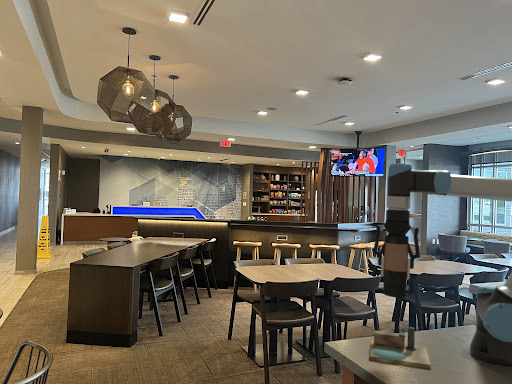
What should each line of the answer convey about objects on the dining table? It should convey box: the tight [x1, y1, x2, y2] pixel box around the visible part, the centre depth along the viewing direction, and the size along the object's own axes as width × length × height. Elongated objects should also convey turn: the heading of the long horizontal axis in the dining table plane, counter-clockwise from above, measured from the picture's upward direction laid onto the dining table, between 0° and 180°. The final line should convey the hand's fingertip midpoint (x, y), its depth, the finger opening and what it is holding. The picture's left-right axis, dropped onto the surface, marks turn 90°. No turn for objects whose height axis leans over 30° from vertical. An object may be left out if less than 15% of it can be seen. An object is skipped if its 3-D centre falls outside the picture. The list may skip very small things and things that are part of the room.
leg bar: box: [373, 330, 406, 348], centre depth 137 cm, size 10×3×4 cm, turn 69°
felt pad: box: [372, 347, 407, 360], centre depth 130 cm, size 11×11×1 cm
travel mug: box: [382, 234, 410, 299], centre depth 134 cm, size 8×8×20 cm
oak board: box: [369, 326, 432, 370], centre depth 132 cm, size 18×16×8 cm
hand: (395, 276), depth 134 cm, fingers closed on travel mug, 8 cm apart
